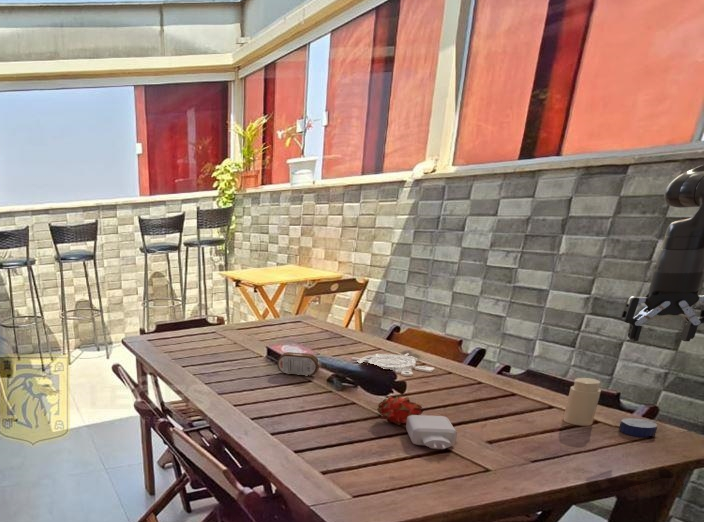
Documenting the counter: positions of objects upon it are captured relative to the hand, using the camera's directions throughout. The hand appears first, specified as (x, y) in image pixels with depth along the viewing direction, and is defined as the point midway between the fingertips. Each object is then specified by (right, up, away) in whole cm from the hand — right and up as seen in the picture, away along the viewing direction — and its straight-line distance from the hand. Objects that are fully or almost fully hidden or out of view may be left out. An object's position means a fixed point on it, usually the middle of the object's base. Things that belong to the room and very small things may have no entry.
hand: (658, 340), depth 114 cm
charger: (-46, -25, +11) cm, 53 cm away
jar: (-6, -19, +13) cm, 24 cm away
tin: (-56, -4, +71) cm, 90 cm away
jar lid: (0, -20, +4) cm, 20 cm away
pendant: (-21, -1, +70) cm, 73 cm away
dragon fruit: (-46, -20, +24) cm, 56 cm away
